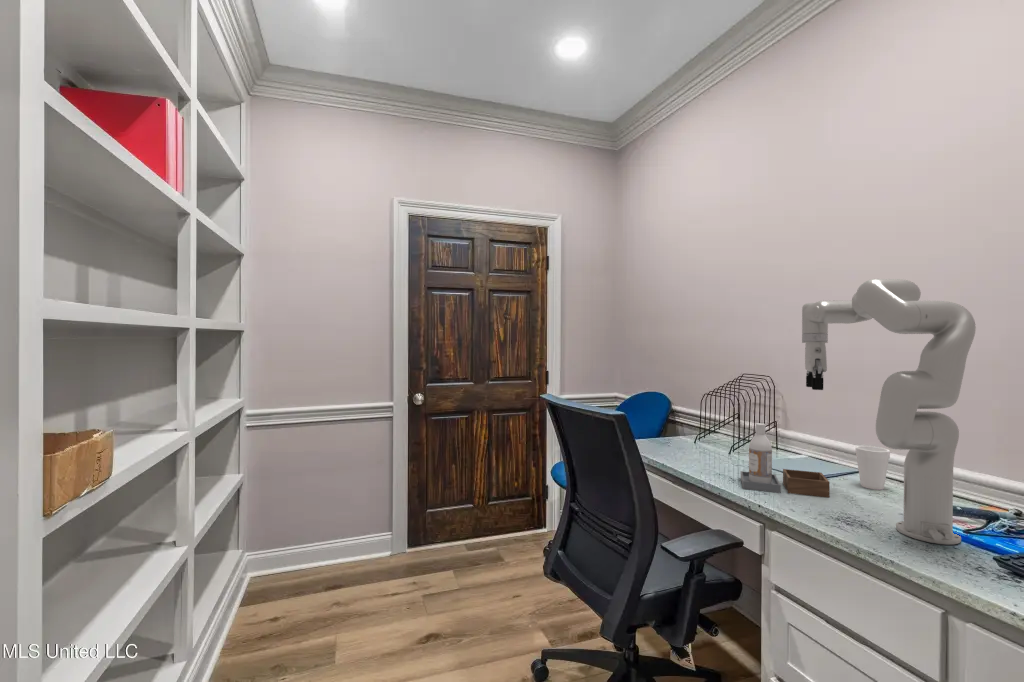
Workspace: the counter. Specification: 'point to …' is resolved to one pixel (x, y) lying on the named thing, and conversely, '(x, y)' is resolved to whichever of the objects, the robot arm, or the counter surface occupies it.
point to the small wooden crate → (806, 483)
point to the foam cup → (872, 466)
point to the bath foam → (760, 457)
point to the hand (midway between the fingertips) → (814, 388)
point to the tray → (760, 484)
